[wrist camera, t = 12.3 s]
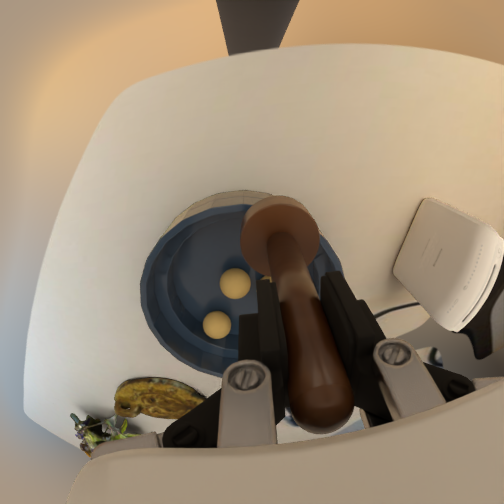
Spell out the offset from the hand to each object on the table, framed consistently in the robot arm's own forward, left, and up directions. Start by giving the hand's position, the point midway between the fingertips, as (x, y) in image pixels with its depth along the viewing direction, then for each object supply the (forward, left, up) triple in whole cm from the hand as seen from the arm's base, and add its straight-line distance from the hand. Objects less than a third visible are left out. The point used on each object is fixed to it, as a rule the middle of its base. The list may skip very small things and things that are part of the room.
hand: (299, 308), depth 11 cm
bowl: (+8, -3, -18) cm, 19 cm away
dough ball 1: (+12, -7, -15) cm, 21 cm away
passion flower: (+34, -30, -18) cm, 48 cm away
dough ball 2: (+7, -4, -15) cm, 17 cm away
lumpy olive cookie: (+27, -18, -18) cm, 37 cm away
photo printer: (+6, +17, -18) cm, 25 cm away
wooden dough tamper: (0, 0, -9) cm, 9 cm away
